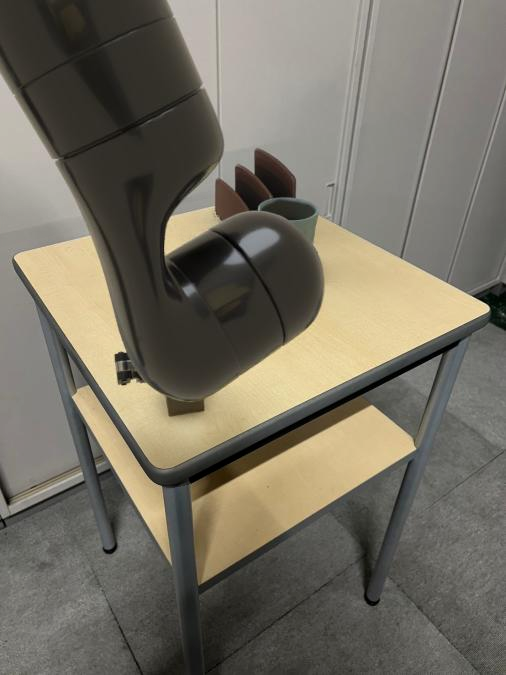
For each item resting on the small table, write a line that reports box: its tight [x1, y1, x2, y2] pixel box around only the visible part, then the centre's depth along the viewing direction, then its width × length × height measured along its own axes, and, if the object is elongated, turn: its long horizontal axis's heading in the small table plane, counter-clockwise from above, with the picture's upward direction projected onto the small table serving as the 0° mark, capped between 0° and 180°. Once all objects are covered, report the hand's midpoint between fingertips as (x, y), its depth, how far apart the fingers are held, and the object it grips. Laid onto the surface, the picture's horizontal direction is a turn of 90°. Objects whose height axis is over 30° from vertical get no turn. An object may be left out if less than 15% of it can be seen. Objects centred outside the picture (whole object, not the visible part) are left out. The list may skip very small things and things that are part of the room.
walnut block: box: [164, 395, 205, 417], centre depth 63 cm, size 4×4×8 cm
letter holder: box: [214, 147, 297, 222], centre depth 102 cm, size 10×20×14 cm, turn 22°
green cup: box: [258, 197, 320, 245], centre depth 89 cm, size 10×10×12 cm
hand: (184, 367), depth 58 cm, fingers open, 8 cm apart
